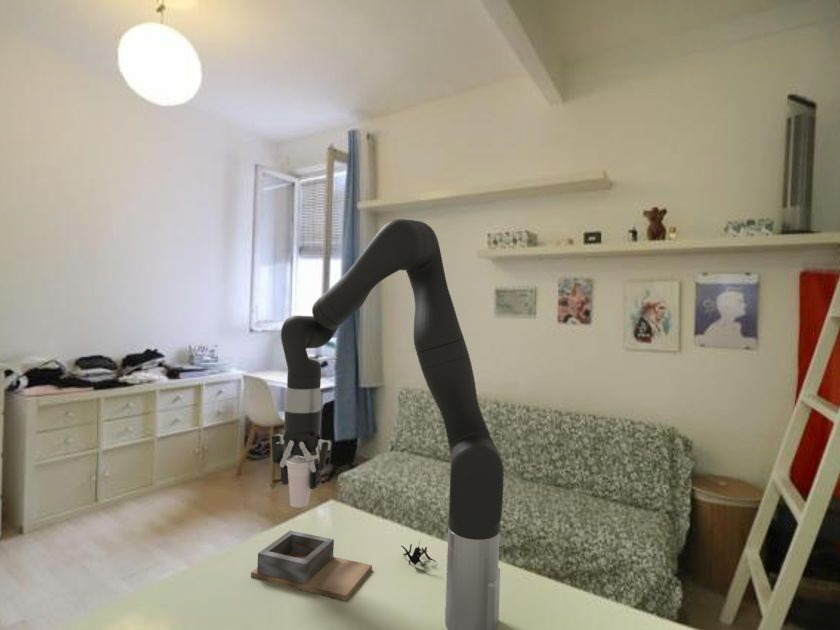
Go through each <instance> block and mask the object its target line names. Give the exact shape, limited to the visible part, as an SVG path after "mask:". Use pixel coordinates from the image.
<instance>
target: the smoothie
mask: <svg viewBox="0 0 840 630" xmlns="http://www.w3.org/2000/svg"><path fill="white" fill-rule="evenodd" d="M314 462H315V460H314ZM286 466H287V468H288V480H289V484H288V489H289V490H288V491H289V502H290V503H289V504H290V507H292V508H295V509H297V508H304V507H307V506H309V502H310V496H311V495H310V494H311V490H312V489H310V472H311V469H310V466H309V462H308V463H307V462H306V459H305V457H301V456H299V455H297V456H294V457H292V458H290V459H286Z"/></svg>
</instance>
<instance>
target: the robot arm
mask: <svg viewBox="0 0 840 630" xmlns="http://www.w3.org/2000/svg"><path fill="white" fill-rule="evenodd" d="M399 271H406V274H407V276H408V279H409V280H408V281H409V283H410V285H411V289H412V292H413V298H414V308H415V309H414V318H413V344H414V349H415V352H416V356H417V359H418V363H419V366H420V368H421V371H422V375H423V377H424V381H425V382H426V385H427V387H428V390H429V391H430V394H431V396H432V398H433V400H434V401H435V404H436V406H437V408H438V409H439V412H440V414H441V418H442V422H443V424H444V428H445V429H444V430H445V433H446V439H447V443H448V447H449V456H450V457H449V458H450V470H449V471H450V476H449V478H450V479H449V505H448V524H447V525H448V530H447V555H446V557H447V558H446V584H445V585H446V586H445V588H446V589H445V607H444V613H445V614H444V615H445V616H444V617H445V618H444V622H445V626H446V629H447V630H497V629H498V628H497V627H498V624H499V619H500V589H501V588H500V587H501V568H500V567H499V562H500V559H499V558H500V557H499V556H500V531H501V520H502V515H503V498H504V474H505V473H504V463H503V461H502V458H501V456H500V453H499V451H498V448H497V446H496V444H495V442H494V440H493V439H492V436H491V434H490V432H489V430H488V427H487V424H486V422H485V419H484V418H483V414H482V412H481V409H480V404H479V401H478V400H479V399H478V394H477V388H476V382H475V381H476V380H475V376H474V370H473V366H472V362H471V358H470V354H469V350H468V348H467V344H466V340H465V338H464V335H463V331H462V329H461V326H460V323H459V320H458V317H457V313H456V309H455V306H454V303H453V299H452V297H451V293H450V290H449V286H448V281H447V277H446V273H445V267H444V264H443V257H442V252H441V248H440V243H439V240H438V237H437V235H436V232H435V231H434V230H433V228H432V227H431V226H430V225H429V224H427V223H426V222H424V221H421V220H420V221H419V220H415V219H414V220H413V219H405V218H399V219H398V218H397V219H393V220H390V221H389V222H387V223H385V224H384V225H383V226H382V227H381V229H380V230H379V231H378V232H377V233H376V234H375V236H373V239H371V241H370V243H369V244H368V245H367V247H366V248H365V250H363V252H362V253H361V254H360V255H359V257H358V258H357V259H356V260H355V262H354V263H353V264H352V265H351V266H350V268H349V269H348V270H347V271H346V273H345V274H343V275H342V276H341V278H339V280H337V282H336V283H334V284H333V285H332V286H331V287H330V288H329V289H328V290H326V292H324V293H323V294H322V295H321V296H320V297H318V299H317V300H316V301H315V302H314V303H313V306H312V309H311V312H312V315H291V316H288V317H287V318H286V319H285V320H284V322H283V324H282V326H281V330H280V340H281V345H282V348H283V349H282V350H283V353H284V358H285V361H286V362H285V363H286V365H287V377H286V378H287V380H286V381H287V382H286V386H287V387H286V393H285V397H284V398H285V401H284V402H285V403H284V419H283V420H284V424H283V425H284V426H283V427H284V429H283V430H284V434H282V433H277V434H274V435H272V436H271V448H272V449H271V450H272V451H271V452H272V453H271V454H272V462H273V463H274V464H278V465H279V467H280V480H281V482H282V483H281V484H282V485H283V486H287V485H289V480H288V468H287V466H286V459H290V458H292V457H294V456H297V455H299V456H301V457H305V459H306V462H307V463H308V462H309V466H310V469H311V472H310V489H311V490H315V489H317V488H318V486H320V484H321V471H323V470H325V469H327V468H329V467H330V461H331V457H332V456H331V455H332V449H333V444H334V443H333V440H332V439H327V440H326V439H322V438H321V437H320V429H321V413H322V412H321V411H322V410H321V408H322V392H321V381H322V380H321V378H322V377H321V376H322V367H321V366H322V365H321V363H320V361H318V360H315V359H313V358H309V355H308V352H307V349H317V348H321V347H323V346H326V345H327V344H329V342H330V341H331V339H332V338H333V337H334V336H335V334H336V332H337V330H338V329H339V327H340V326H341V324H343V323H344V322H345V321H346V320H348V319H349V318H350V317H352V316H353V315H354V314H355V313H356V312H357V311H358V310H360V308H361V307H362V305H364V303H365V301H366V300H367V298H368V296H369V295H370V293H371V292H372V290H373V289H374V288H375V287H376V286H377V285H378V284H379V283H381V282H382V281H383V280H385V279H387V278H388V277H390V276H392V275H394V274H395V273H397V272H399ZM284 444H285V446H286V449H284ZM318 446H319V450H320V452H319V451H318V449H317V448H318ZM319 454H320V455H319ZM314 460H315V462H314Z"/></svg>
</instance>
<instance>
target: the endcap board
mask: <svg viewBox="0 0 840 630" xmlns="http://www.w3.org/2000/svg"><path fill="white" fill-rule="evenodd" d="M334 543H335V540H334V538H329V537H323V536H318V535H315V534H310V533H305V532H300V531H294V530H289V531H287V532H286V533H284V534H283V535H281V536H280V537H278V538H277V539H276V540H274V541H273V542H272V543H270V544H269V545H267V546H266V547H264V548H263V549H262V550H261V551H259V552H258V553H257V567H256V568H254V569H253V570H252V571H250V577H251V576H252V577H251V578H253V577H255V578H254V579H257V578H259V579H258V580H260V581H266V582H269V583H274V584H277V585H282V586H285V587H290V588H293V589H298V590H302V591H305V592H310V593H314V594H318V595H321V596H325V597H330V598H334V599H338V600H342V601H345V602H346V601H347V600H348V599H349V598H350V597H351V596H352V594H353V593H354V592H355V590H356V589H357V588H358V587H359V586H360V584H361V583H362V582H364V580H365V579H366V577H367V576H368V575H369V574H370V573H371V571H372V570H373V565H372V564H368V563H363V562H359V561H354V560H350V559H345V558H341V557H336V556H334V550H335V549H334V545H335V544H334Z"/></svg>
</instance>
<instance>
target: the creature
mask: <svg viewBox="0 0 840 630" xmlns="http://www.w3.org/2000/svg"><path fill="white" fill-rule="evenodd" d="M419 540H421V538H420V539H419ZM420 544H421V541H419V543H418V546H417V547H415V548H414V550H413V552H412V548H413V547H412V546H413V544H412V543H410V545H409V551H408V549H407V548H406V547H404V546H403V545H400V547H402V548H403V550H404V551H405V553H403V554H402V555H403V556H408V559H409V560H408V561H409V562H408V564H409V565H410V564H411V563H412V564H413V565H414V566H416V565H417V564H418V563H421V567H422V568H423V567H424V566H425V565H426V562H427V563H428V561H433V562H436V559H433V558H431V556H429V555H428V553H427V552H428V550H427V549H428V547H427V546H425V548H423V547H422V548H420ZM411 552H412V555H411ZM423 554H424V555H425V557H426V558H427V560H426V561H423V562H422V561H421V559H420V558H421V557H422V555H423Z"/></svg>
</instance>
